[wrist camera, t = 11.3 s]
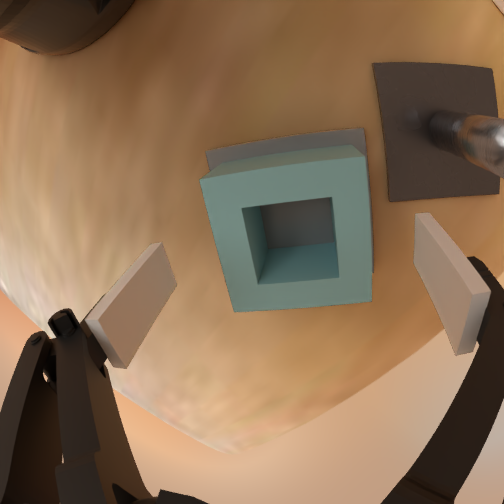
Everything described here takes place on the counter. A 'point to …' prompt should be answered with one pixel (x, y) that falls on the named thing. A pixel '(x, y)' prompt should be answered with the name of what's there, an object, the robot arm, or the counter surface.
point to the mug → (500, 4)
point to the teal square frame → (298, 257)
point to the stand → (439, 130)
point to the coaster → (304, 211)
